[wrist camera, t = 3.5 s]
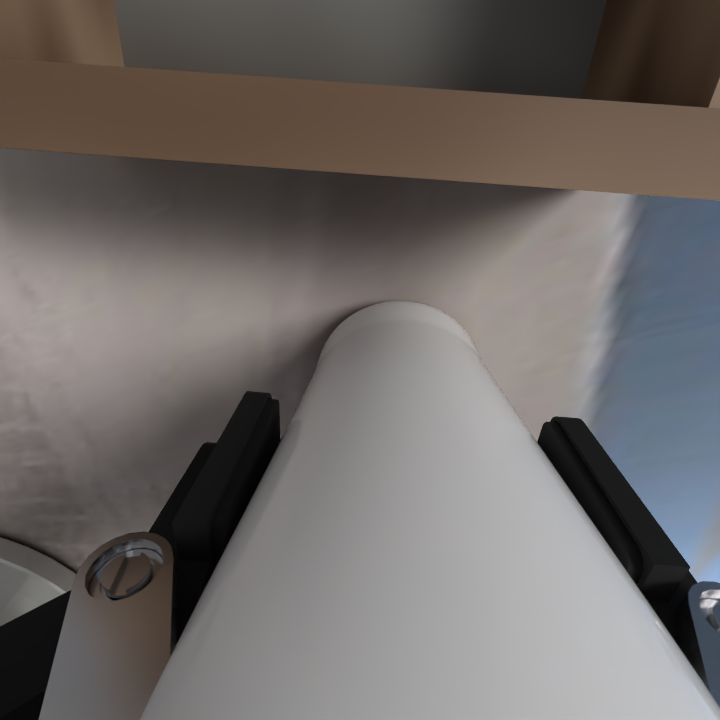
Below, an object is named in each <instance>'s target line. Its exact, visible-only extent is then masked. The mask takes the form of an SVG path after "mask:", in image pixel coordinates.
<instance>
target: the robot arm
mask: <svg viewBox="0 0 720 720" xmlns="http://www.w3.org/2000/svg"><path fill="white" fill-rule="evenodd" d="M279 442H280V416H279V401H278V400H275V399H272V397H271V394H270V393H262V392H250V391H248V392H246V393H245V394H244V396H243V398H242V400H241V402H240V403H239V405H238V407H237V409H236V410H235V412H234V414H233V416H232V417H231V419H230V421H229V423H228V424H227V426H226V428H225V430H224V431H223V433H222V435H221V437H220V438H219V440H218V442H217V443H210V442H206V443H204V444H203V445H202V447H201V448H200V449H199V451H198V453H197V454H196V456H195V457H194V459H193V461H192V462H191V464H190V466H189V467H188V469H187V470H186V472H185V474H184V475H183V477H182V479H181V480H180V482H179V483H178V485H177V487H176V488H175V490H174V492H173V493H172V495H171V496H170V498H169V500H168V501H167V503H166V505H165V506H164V508H163V509H162V511H161V513H160V514H159V516H158V518H157V519H156V521H155V522H154V524H153V526H152V527H151V529H150V531H149V532H137V533H129V534H126V535H123V536H120V537H117V538H115V539H113V540H111V541H109V542H107V543H105V544H103V545H102V546H100V547H99V548H98V549H97V550H95V551H94V552H93V553H92V554H91V555H89V556H88V558H87V559H86V560H85V561H84V563H83V564H82V565H81V566H80V568H79V570H78V572H77V574H76V573H75V572H73V571H71V570H70V569H68V568H67V567H65V566H63V565H62V564H60V563H59V562H57V561H55V560H54V559H52V558H50V557H48V556H46V555H44V554H42V553H40V552H38V551H36V550H34V549H31V548H29V547H27V546H24V545H21V544H19V543H16V542H13V541H10V540H7V539H5V538H2V537H0V720H140V718H141V716H142V713H143V711H144V709H145V707H146V705H147V703H148V701H149V699H150V697H151V695H152V693H153V691H154V689H155V687H156V684H157V682H158V680H159V678H160V676H161V674H162V672H163V670H164V668H165V666H166V664H167V662H168V660H169V658H170V656H171V654H172V651H173V649H174V647H175V645H176V643H177V641H178V639H179V637H180V636H181V634H182V632H183V630H184V628H185V626H186V624H187V622H188V620H189V618H190V616H191V614H192V612H193V610H194V608H195V606H196V604H197V602H198V600H199V598H200V596H201V594H202V592H203V590H204V588H205V586H206V584H207V583H208V581H209V579H210V577H211V575H212V573H213V571H214V569H215V567H216V565H217V563H218V561H219V559H220V557H221V555H222V553H223V551H224V549H225V548H226V546H227V544H228V542H229V540H230V538H231V536H232V534H233V532H234V530H235V528H236V526H237V524H238V522H239V520H240V518H241V517H242V515H243V513H244V511H245V509H246V507H247V505H248V503H249V501H250V499H251V497H252V495H253V493H254V491H255V489H256V487H257V485H258V484H259V482H260V480H261V478H262V476H263V474H264V472H265V470H266V468H267V466H268V464H269V462H270V460H271V458H272V456H273V454H274V452H275V450H276V448H277V446H278V444H279ZM537 443H538V444H539V446H540V447H541V448H542V450H543V451H544V453H545V454H546V456H547V457H548V459H549V460H550V461H551V463H552V464H553V466H554V467H555V469H556V470H557V472H558V473H559V474H560V476H561V477H562V479H563V480H564V482H565V483H566V484H567V486H568V487H569V489H570V490H571V492H572V493H573V494H574V496H575V497H576V499H577V500H578V502H579V503H580V504H581V506H582V507H583V509H584V510H585V512H586V513H587V514H588V516H589V517H590V519H591V520H592V522H593V523H594V524H595V526H596V527H597V529H598V530H599V532H600V533H601V535H602V536H603V537H604V539H605V540H606V542H607V543H608V545H609V546H610V547H611V549H612V550H613V552H614V553H615V555H616V556H617V557H618V559H619V560H620V562H621V563H622V565H623V566H624V568H625V569H626V570H627V572H628V573H629V575H630V576H631V578H632V579H633V580H634V582H635V583H636V585H637V586H638V588H639V589H640V590H641V592H642V593H643V595H644V596H645V598H646V599H647V600H648V602H649V603H650V605H651V606H652V608H653V609H654V611H655V612H656V614H657V615H658V616H659V618H660V619H661V621H662V622H663V624H664V625H665V627H666V628H667V630H668V631H669V633H670V634H671V635H672V637H673V638H674V640H675V641H676V643H677V644H678V646H679V647H680V649H681V650H682V652H683V653H684V654H685V656H686V657H687V659H688V660H689V662H690V663H691V665H692V666H693V668H694V669H695V670H696V672H697V673H698V675H699V676H700V678H701V679H702V681H703V682H704V684H705V685H706V687H707V688H708V690H709V691H710V693H711V694H712V696H713V697H714V699H715V700H716V702H717V703H718V705H719V706H720V583H717V582H706V581H702V582H699V583H697V581H696V580H695V579H694V577H693V576H692V575H691V573H690V572H689V569H690V566H689V565H688V564H687V562H686V561H685V559H684V558H683V557H682V555H681V554H680V553H679V551H678V550H677V549H676V547H675V546H674V544H673V543H672V542H671V540H670V539H669V538H668V536H667V535H666V534H665V532H664V531H663V529H662V528H661V527H660V525H659V524H658V523H657V521H656V520H655V519H654V517H653V516H652V515H651V513H650V512H649V510H648V509H647V508H646V506H645V505H644V504H643V502H642V501H641V500H640V498H639V497H638V495H637V494H636V493H635V491H634V490H633V489H632V487H631V486H630V485H629V483H628V482H627V480H626V479H625V478H624V476H623V475H622V474H621V472H620V471H619V470H618V468H617V467H616V465H615V464H614V463H613V461H612V460H611V459H610V457H609V456H608V455H607V453H606V452H605V450H604V449H603V448H602V446H601V445H600V444H599V442H598V441H597V440H596V438H595V437H594V435H593V434H592V433H591V431H590V430H589V429H588V427H587V426H586V425H585V423H584V422H583V421H582V420H581V419H579V418H568V417H553V418H552V419H551V421H550V422H545V423H544V424H543V426H542V429H541V432H540V435H539V439H538V442H537Z"/></svg>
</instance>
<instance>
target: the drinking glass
mask: <svg viewBox="0 0 720 720" xmlns="http://www.w3.org/2000/svg"><path fill="white" fill-rule="evenodd" d="M140 720H720V706H719V705H718V703H717V702H716V700H715V699H714V697H713V696H712V694H711V693H710V691H709V690H708V688H707V687H706V685H705V684H704V682H703V681H702V679H701V678H700V676H699V675H698V673H697V672H696V670H695V669H694V668H693V666H692V665H691V663H690V662H689V660H688V659H687V657H686V656H685V654H684V653H683V652H682V650H681V649H680V647H679V646H678V644H677V643H676V641H675V640H674V638H673V637H672V635H671V634H670V633H669V631H668V630H667V628H666V627H665V625H664V624H663V622H662V621H661V619H660V618H659V616H658V615H657V614H656V612H655V611H654V609H653V608H652V606H651V605H650V603H649V602H648V600H647V599H646V598H645V596H644V595H643V593H642V592H641V590H640V589H639V588H638V586H637V585H636V583H635V582H634V580H633V579H632V578H631V576H630V575H629V573H628V572H627V570H626V569H625V568H624V566H623V565H622V563H621V562H620V560H619V559H618V557H617V556H616V555H615V553H614V552H613V550H612V549H611V547H610V546H609V545H608V543H607V542H606V540H605V539H604V537H603V536H602V535H601V533H600V532H599V530H598V529H597V527H596V526H595V524H594V523H593V522H592V520H591V519H590V517H589V516H588V514H587V513H586V512H585V510H584V509H583V507H582V506H581V504H580V503H579V502H578V500H577V499H576V497H575V496H574V494H573V493H572V492H571V490H570V489H569V487H568V486H567V484H566V483H565V482H564V480H563V479H562V477H561V476H560V474H559V473H558V472H557V470H556V469H555V467H554V466H553V464H552V463H551V461H550V460H549V459H548V457H547V456H546V454H545V453H544V451H543V450H542V448H541V447H540V446H539V444H538V443H537V441H536V440H535V438H534V437H533V435H532V434H531V433H530V431H529V430H528V428H527V427H526V425H525V424H524V422H523V421H522V419H521V418H520V417H519V415H518V414H517V412H516V411H515V409H514V408H513V406H512V405H511V403H510V402H509V400H508V399H507V398H506V396H505V395H504V393H503V392H502V390H501V389H500V387H499V386H498V384H497V383H496V381H495V380H494V378H493V377H492V375H491V374H490V372H489V371H488V369H487V368H486V366H485V365H484V363H483V361H482V359H481V357H480V355H479V353H478V350H477V348H476V346H475V344H474V343H473V341H472V339H471V338H470V336H469V335H468V334H467V332H466V331H465V330H464V329H463V327H462V326H461V325H460V324H459V323H458V322H456V321H455V320H454V319H453V318H452V317H450V316H449V315H447V314H446V313H444V312H442V311H440V310H438V309H436V308H434V307H431V306H429V305H425V304H422V303H418V302H412V301H388V302H382V303H378V304H374V305H371V306H368V307H365V308H363V309H361V310H359V311H357V312H355V313H354V314H352V315H351V316H349V317H348V318H346V319H345V320H344V321H343V322H342V323H341V324H339V325H338V326H337V328H336V329H335V330H334V331H333V332H332V333H331V335H330V336H329V338H328V339H327V341H326V343H325V345H324V346H323V349H322V351H321V354H320V356H319V359H318V362H317V365H316V369H315V372H314V374H313V376H312V378H311V380H310V383H309V385H308V387H307V389H306V391H305V393H304V395H303V397H302V399H301V401H300V403H299V405H298V407H297V409H296V411H295V413H294V415H293V417H292V419H291V421H290V423H289V425H288V427H287V429H286V431H285V433H284V435H283V437H282V439H281V440H280V442H279V444H278V446H277V448H276V450H275V452H274V454H273V456H272V458H271V460H270V462H269V464H268V466H267V468H266V470H265V472H264V474H263V476H262V478H261V480H260V482H259V484H258V485H257V487H256V489H255V491H254V493H253V495H252V497H251V499H250V501H249V503H248V505H247V507H246V509H245V511H244V513H243V515H242V517H241V518H240V520H239V522H238V524H237V526H236V528H235V530H234V532H233V534H232V536H231V538H230V540H229V542H228V544H227V546H226V548H225V549H224V551H223V553H222V555H221V557H220V559H219V561H218V563H217V565H216V567H215V569H214V571H213V573H212V575H211V577H210V579H209V581H208V583H207V584H206V586H205V588H204V590H203V592H202V594H201V596H200V598H199V600H198V602H197V604H196V606H195V608H194V610H193V612H192V614H191V616H190V618H189V620H188V622H187V624H186V626H185V628H184V630H183V632H182V634H181V636H180V637H179V639H178V641H177V643H176V645H175V647H174V649H173V651H172V654H171V656H170V658H169V660H168V662H167V664H166V666H165V668H164V670H163V672H162V674H161V676H160V678H159V680H158V682H157V684H156V687H155V689H154V691H153V693H152V695H151V697H150V699H149V701H148V703H147V705H146V707H145V709H144V711H143V713H142V716H141V718H140Z"/></svg>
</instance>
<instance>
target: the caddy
mask: <svg viewBox="0 0 720 720" xmlns="http://www.w3.org/2000/svg"><path fill="white" fill-rule="evenodd" d="M0 148H12V149H26V150H39V151H53V152H67V153H80V154H94V155H108V156H121V157H135V158H148V159H162V160H176V161H189V162H203V163H217V164H230V165H244V166H258V167H271V168H285V169H298V170H312V171H326V172H339V173H353V174H367V175H380V176H394V177H408V178H421V179H435V180H448V181H462V182H476V183H489V184H503V185H517V186H530V187H544V188H558V189H571V190H585V191H598V192H612V193H626V194H639V195H653V196H667V197H680V198H694V199H708V200H720V0H0Z"/></svg>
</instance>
